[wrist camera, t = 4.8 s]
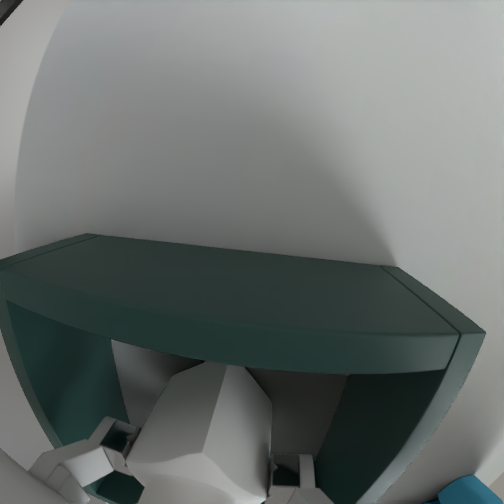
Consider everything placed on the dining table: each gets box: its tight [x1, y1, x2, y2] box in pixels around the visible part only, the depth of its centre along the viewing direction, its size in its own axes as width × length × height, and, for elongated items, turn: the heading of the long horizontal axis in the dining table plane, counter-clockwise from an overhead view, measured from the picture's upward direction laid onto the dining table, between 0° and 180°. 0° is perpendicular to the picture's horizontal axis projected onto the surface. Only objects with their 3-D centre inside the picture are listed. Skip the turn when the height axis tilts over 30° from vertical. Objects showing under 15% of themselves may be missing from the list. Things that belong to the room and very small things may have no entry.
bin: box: [0, 233, 486, 504], centre depth 9 cm, size 14×14×6 cm
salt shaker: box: [125, 361, 273, 504], centre depth 8 cm, size 4×4×10 cm
